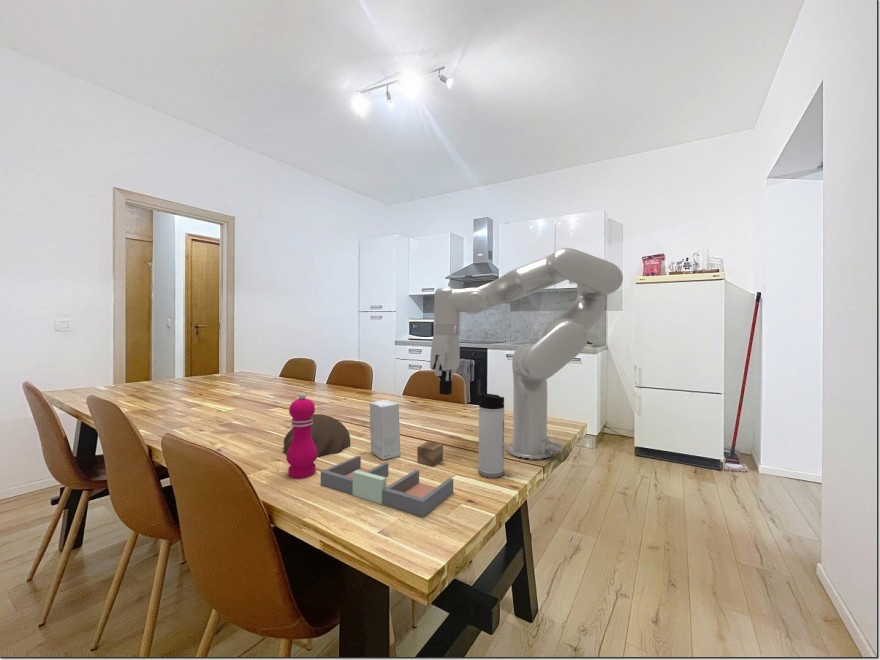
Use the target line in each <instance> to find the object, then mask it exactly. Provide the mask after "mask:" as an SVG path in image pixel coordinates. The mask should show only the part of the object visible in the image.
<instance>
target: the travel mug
mask: <svg viewBox="0 0 880 660" xmlns="http://www.w3.org/2000/svg"><path fill="white" fill-rule="evenodd" d="M477 396H478V469H477V470H478V474H479V475H480V476H481V477H484V478H487V477H488V479H497V477H498V478H501V477H503V476H504V474H505V397H504V396H500V395H499V394H493V393H484V392H483V393H481V392H480V393H478V395H477ZM502 475H503V476H502ZM500 476H501V477H500Z"/></svg>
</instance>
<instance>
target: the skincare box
mask: <svg viewBox="0 0 880 660" xmlns="http://www.w3.org/2000/svg"><path fill="white" fill-rule="evenodd" d="M369 422H370V424H369V425H370V427H369V429H370V453H371V454H373V455H375V456H376V457H377V458H379V459H381V460H383V461H384V460H389V459H394V458H395V459H396V458H400V457H401V432H400V427H401V426H400V404H399V403H398V402H394V401H392V400H391V401H390V400H388V399H384V400H377V401H372V402H371V401H370V402H369Z"/></svg>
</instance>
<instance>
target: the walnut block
mask: <svg viewBox="0 0 880 660" xmlns="http://www.w3.org/2000/svg"><path fill="white" fill-rule="evenodd" d="M416 448H417V451H416V453H417V454H416V455H417V456H416V457H417V459H416V461H417V464H421V465H425V466H429V467H435V466H437V465H438V464H440V463H442V462H443V461H444V444H442V443H437V442H432V441H424V443H421V444H420V445H418V446H417V447H416Z"/></svg>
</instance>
